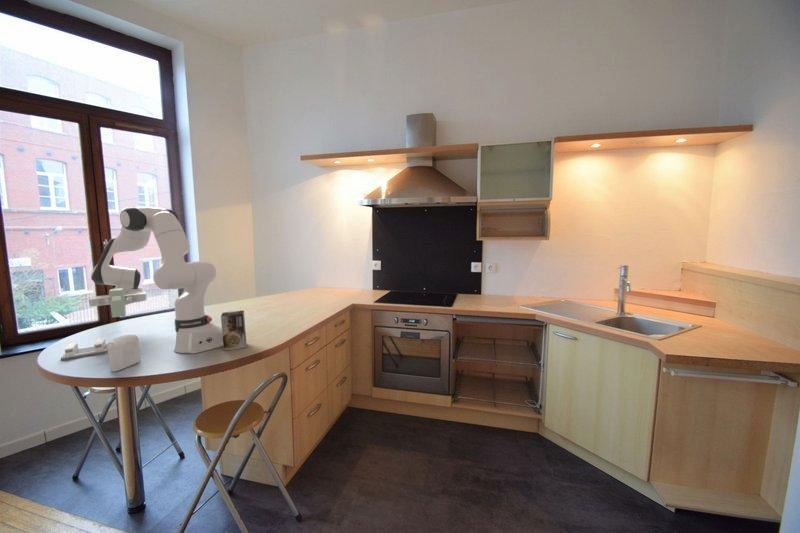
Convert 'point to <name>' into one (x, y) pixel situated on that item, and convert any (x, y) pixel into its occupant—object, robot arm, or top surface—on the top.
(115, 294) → the loose module
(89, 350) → the rail board
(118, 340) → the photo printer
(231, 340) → the coffee box
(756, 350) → the top surface
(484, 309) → the top surface
